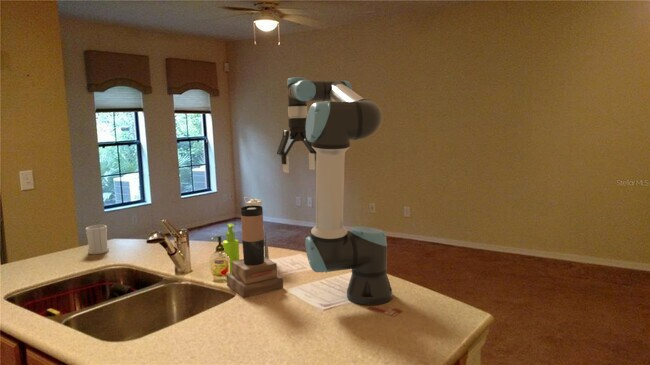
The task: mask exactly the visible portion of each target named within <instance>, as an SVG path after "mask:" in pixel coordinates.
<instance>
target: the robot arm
mask: <svg viewBox="0 0 650 365" xmlns="http://www.w3.org/2000/svg"><path fill="white" fill-rule="evenodd" d="M286 83H287V84H286V85H287V86H286V90H287V114H288V115H287V116H288V117H289V118H288V119H287V120H288V129H289V130H288V129H287V130H285V129H284V130H282V137H281V140H280V143H279V145H278V148H277V151H276V154H277V155H279V156H280V158H281V165H282V168H283V169H282V171H283V173H285V174H289V173H290V164H289V160H290V158H289V155H288V154H289V152H290V151H291V149H292V147H293V146H294V144H295V143H296V142H302V143H303V144H304V146H305V147H306V149H307V150H308V151H309V153H308V170H313V171H314V170H316V171H315V172H316V173H315V174H316V178H315V179H316V180H315V182H316V183H315V188H316V190H315V192H316V193H315V194H316V195H315V201H316V202H315V226H314V227H312V228H311V230H310V235H309V236H307V237H305V241H304V245H305V247H304V248H305V252H306V257H307V260H308V264H309V266H310V268H311V269H312V271H313V272H315V273H327V274H328V272H338V271H346V270H347V271H348V270H351V275H350V279H349V283H348V286H347V288H346V298H347V299H348V300H349V301H350V302H352V303H355V304H358V305H363V306H374V305H375V306H376V305H377V306H378V305H383V304H386V303H388V302H390V301H391V300H392V299H393V288H392V287H391V281H390V279H389V276H388V267H387V266H388V263H387V262H388V243H387V234H386V233H385V232H384V231H383V230H381V229H379V228H375V227H371V226H369V227H368V226H352V227H351V229H350V232H349V233H348V229H347V228H346V227H345V226H344V200H345V199H344V195H345V194H344V193H345V158H346V156H345V154H346V152H347V150H349V149H350V148H351V141H361V140H365V139H367V138H369V137H372V136H373V135H374V134H376V132H377V131H378V130H379V129H380V127H381V124H382V121H383V112H382V109H381V108H380V106H379V105H378V104H377V103H376V102H375V101H373V99H370V98H366V97H365V98H363V97H362V96H360V95H359V94H358V93H357V92H355V91H354V90H353V88H352V87H353V86H352V84H351V82H350V81H348V80H341V79H340V80H308V79H306V77H303V76H302V77H301V76H300V77H299V76H295V77H292V76H291V77H289V78H287V82H286ZM308 102H314V103H312V104H311V105H310V107H309V109H308ZM315 162H316V163H315Z"/></svg>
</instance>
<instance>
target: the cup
mask: <svg viewBox="0 0 650 365" xmlns="http://www.w3.org/2000/svg"><path fill="white" fill-rule="evenodd" d="M85 232H86V238H87V246H88V250H87V253H88V254H90V255H100V254H105V253H107V252H109V251H110V249H109V248H110V247H109V246H108V226H107V225H105V224H95V225H89V226H87V227H85Z"/></svg>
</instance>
